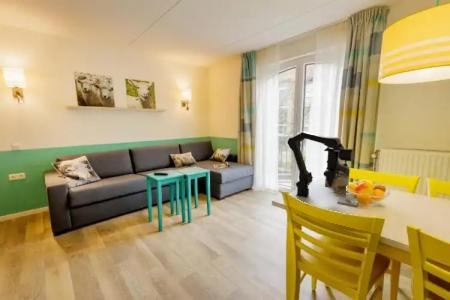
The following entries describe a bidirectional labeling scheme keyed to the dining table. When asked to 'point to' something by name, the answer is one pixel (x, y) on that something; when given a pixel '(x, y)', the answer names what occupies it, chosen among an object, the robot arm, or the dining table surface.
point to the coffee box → (342, 182)
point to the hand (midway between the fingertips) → (331, 184)
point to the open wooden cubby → (334, 184)
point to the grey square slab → (347, 200)
